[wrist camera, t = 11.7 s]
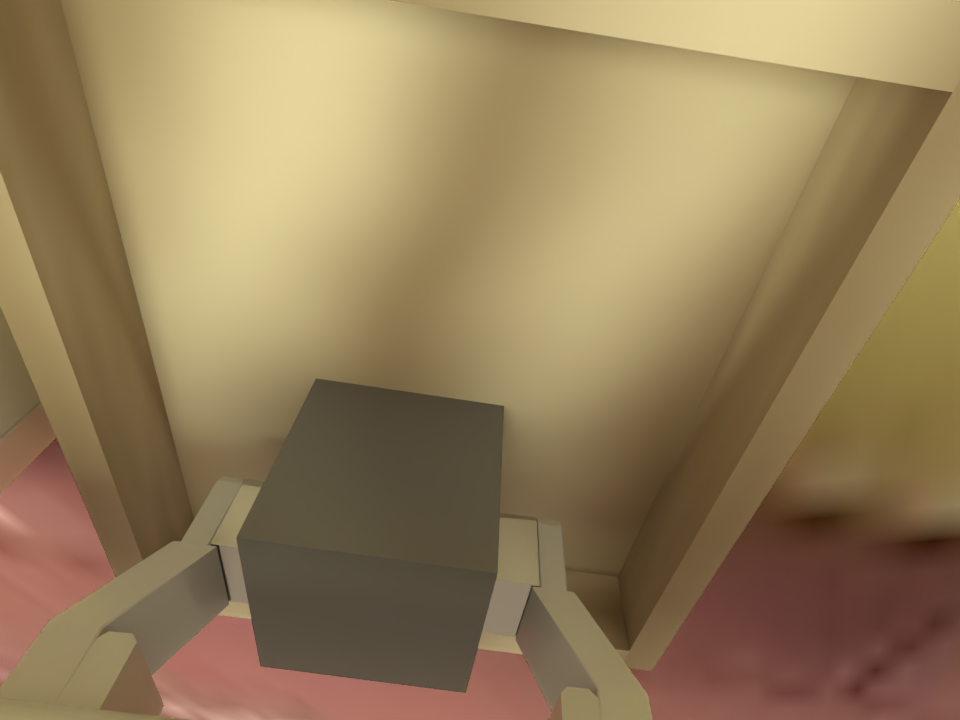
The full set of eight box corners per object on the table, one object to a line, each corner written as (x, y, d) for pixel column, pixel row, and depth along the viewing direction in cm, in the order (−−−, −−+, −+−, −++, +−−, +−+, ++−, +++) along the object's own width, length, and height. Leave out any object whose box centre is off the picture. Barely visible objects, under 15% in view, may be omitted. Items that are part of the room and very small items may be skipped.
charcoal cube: (504, 405, 12) (497, 573, 8) (478, 525, 14) (465, 692, 11) (316, 378, 12) (236, 537, 8) (321, 502, 14) (260, 666, 11)
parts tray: (908, 5, 8) (1075, 20, 6) (631, 565, 16) (651, 671, 14) (17, -144, 8) (-214, -196, 5) (187, 505, 16) (126, 603, 13)
